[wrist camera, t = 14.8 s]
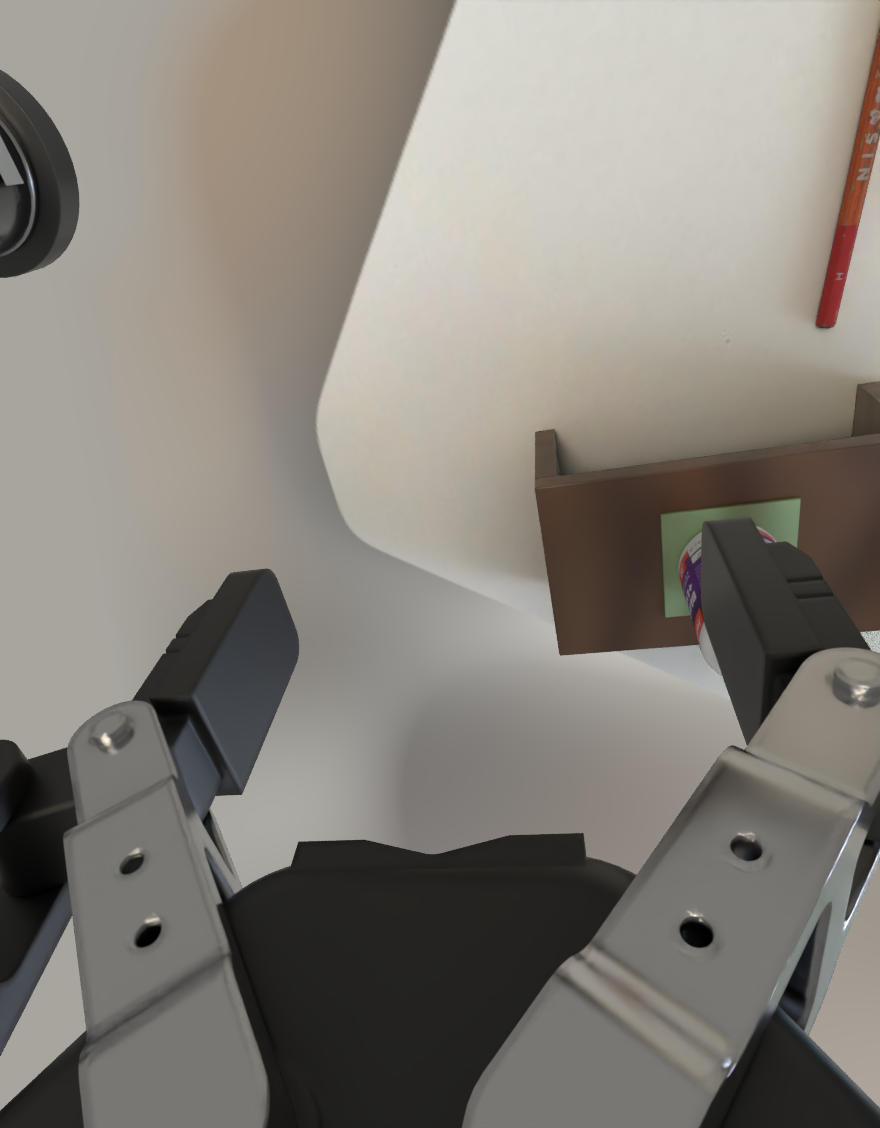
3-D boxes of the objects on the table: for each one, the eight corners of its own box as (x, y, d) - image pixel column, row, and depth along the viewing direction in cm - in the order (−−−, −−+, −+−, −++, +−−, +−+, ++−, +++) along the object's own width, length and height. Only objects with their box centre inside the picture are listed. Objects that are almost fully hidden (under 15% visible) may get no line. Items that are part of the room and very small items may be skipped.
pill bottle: (657, 552, 38) (689, 669, 30) (749, 500, 36) (809, 612, 28) (707, 615, 40) (749, 741, 32) (797, 569, 38) (867, 693, 30)
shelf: (557, 584, 50) (559, 658, 44) (535, 431, 44) (534, 489, 37) (857, 554, 46) (912, 630, 39) (880, 380, 40) (950, 435, 33)
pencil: (832, 324, 38) (838, 329, 38) (811, 325, 39) (817, 330, 38) (942, -151, 28) (953, -159, 27) (913, -148, 28) (924, -156, 28)
